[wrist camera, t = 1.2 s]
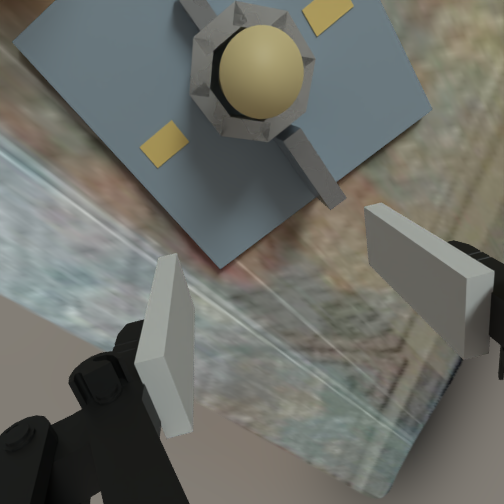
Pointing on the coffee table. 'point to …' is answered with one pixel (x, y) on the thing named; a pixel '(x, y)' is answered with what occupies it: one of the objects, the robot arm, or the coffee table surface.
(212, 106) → the collar
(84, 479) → the robot arm
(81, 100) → the board
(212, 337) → the coffee table surface
